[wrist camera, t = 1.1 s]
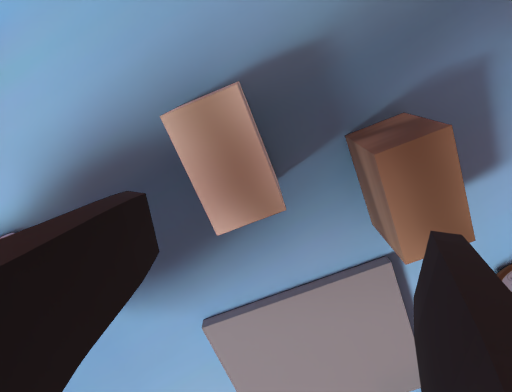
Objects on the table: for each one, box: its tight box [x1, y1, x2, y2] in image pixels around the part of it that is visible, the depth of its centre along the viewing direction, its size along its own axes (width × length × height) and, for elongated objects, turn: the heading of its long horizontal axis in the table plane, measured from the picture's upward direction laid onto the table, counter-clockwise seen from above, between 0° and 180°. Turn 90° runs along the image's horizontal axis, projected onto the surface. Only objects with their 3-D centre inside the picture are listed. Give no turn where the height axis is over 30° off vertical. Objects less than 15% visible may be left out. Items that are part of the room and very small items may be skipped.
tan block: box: [160, 81, 286, 236], centre depth 18 cm, size 4×6×5 cm, turn 22°
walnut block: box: [345, 113, 475, 264], centre depth 19 cm, size 4×6×5 cm, turn 22°
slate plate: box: [202, 256, 421, 392], centre depth 25 cm, size 13×11×1 cm
